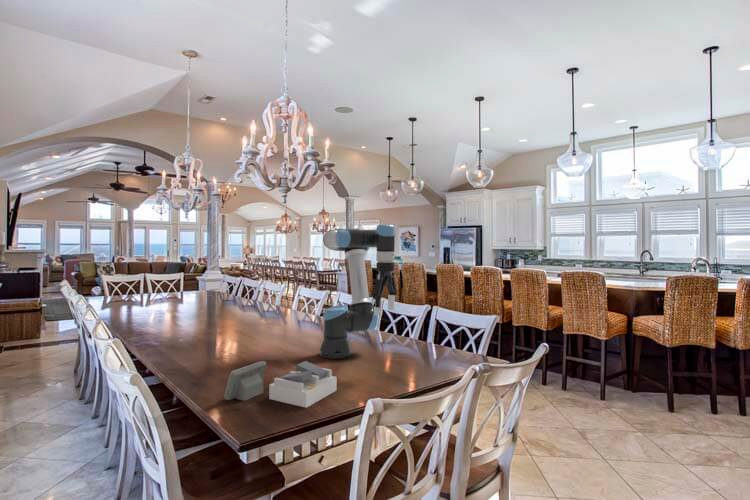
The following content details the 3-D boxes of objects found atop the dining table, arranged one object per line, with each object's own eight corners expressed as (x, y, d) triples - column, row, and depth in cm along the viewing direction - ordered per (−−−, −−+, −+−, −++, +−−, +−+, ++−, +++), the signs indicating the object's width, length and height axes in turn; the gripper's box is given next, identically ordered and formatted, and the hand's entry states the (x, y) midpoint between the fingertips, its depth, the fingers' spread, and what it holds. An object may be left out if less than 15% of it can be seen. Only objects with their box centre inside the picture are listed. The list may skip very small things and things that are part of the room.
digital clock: (259, 386, 153) (259, 358, 153) (273, 392, 147) (273, 362, 147) (218, 398, 141) (218, 368, 141) (232, 405, 135) (232, 373, 135)
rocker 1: (280, 384, 140) (279, 377, 141) (290, 379, 145) (289, 373, 145) (302, 382, 136) (301, 375, 136) (312, 377, 141) (311, 371, 141)
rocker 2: (295, 370, 149) (296, 364, 148) (304, 366, 153) (306, 360, 153) (317, 380, 144) (318, 374, 144) (326, 376, 149) (327, 370, 149)
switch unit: (269, 398, 141) (269, 377, 140) (301, 383, 156) (301, 364, 156) (306, 407, 133) (306, 385, 133) (336, 390, 149) (336, 370, 149)
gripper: (381, 263, 156) (381, 318, 156) (404, 260, 178) (404, 308, 179) (364, 262, 159) (363, 316, 159) (388, 260, 181) (388, 307, 182)
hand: (385, 312), depth 169 cm, fingers open, 13 cm apart
